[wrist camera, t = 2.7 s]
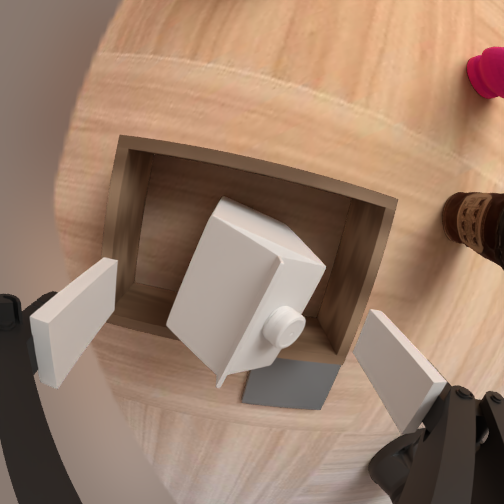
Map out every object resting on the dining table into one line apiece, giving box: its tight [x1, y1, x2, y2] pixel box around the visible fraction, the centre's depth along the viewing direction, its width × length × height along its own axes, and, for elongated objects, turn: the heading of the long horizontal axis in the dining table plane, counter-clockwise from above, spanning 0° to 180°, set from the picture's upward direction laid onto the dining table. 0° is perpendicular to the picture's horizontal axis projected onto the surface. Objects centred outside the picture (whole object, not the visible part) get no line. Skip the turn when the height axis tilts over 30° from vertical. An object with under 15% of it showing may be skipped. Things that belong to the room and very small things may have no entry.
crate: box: [101, 135, 398, 365], centre depth 28 cm, size 16×23×8 cm
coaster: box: [242, 358, 341, 410], centre depth 36 cm, size 11×11×1 cm
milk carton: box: [166, 196, 326, 388], centre depth 23 cm, size 7×7×19 cm
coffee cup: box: [443, 192, 504, 270], centre depth 26 cm, size 9×8×13 cm
